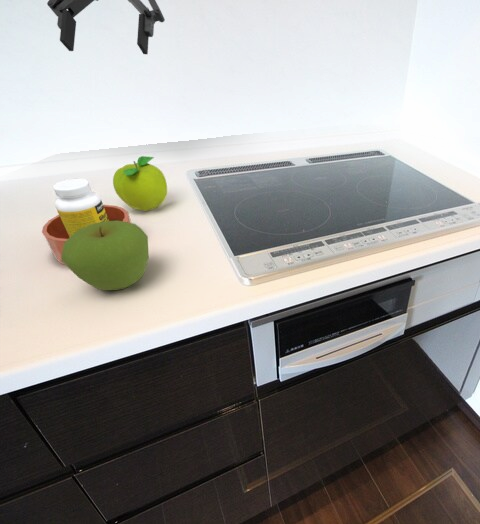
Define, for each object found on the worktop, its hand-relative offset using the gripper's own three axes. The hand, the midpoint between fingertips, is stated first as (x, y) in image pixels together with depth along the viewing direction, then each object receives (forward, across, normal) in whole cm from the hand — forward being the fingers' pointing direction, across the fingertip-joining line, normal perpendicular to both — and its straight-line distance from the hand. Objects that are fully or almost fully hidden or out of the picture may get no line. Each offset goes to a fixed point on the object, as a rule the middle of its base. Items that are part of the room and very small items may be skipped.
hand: (104, 47), depth 69 cm
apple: (+46, -9, +7) cm, 48 cm away
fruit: (+28, -5, -11) cm, 31 cm away
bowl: (+39, -1, 0) cm, 39 cm away
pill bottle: (+38, -1, 0) cm, 39 cm away
